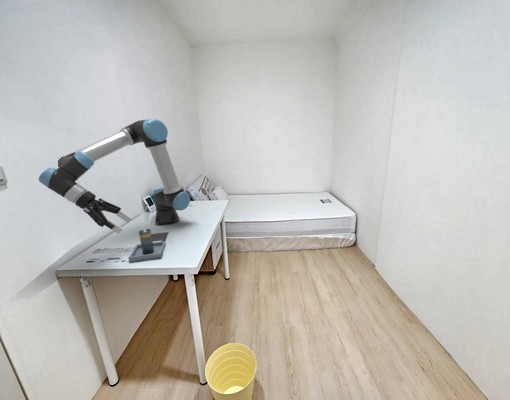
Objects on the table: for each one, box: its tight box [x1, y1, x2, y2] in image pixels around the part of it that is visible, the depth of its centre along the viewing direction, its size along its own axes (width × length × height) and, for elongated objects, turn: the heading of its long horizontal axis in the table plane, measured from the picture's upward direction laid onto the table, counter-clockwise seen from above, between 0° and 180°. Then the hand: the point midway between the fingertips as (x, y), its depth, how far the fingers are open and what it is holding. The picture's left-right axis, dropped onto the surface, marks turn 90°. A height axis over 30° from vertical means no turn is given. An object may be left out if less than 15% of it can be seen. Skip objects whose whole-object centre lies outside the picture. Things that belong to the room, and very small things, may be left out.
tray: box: [128, 241, 167, 263], centre depth 112 cm, size 14×14×2 cm
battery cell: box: [138, 228, 154, 255], centre depth 110 cm, size 5×5×12 cm
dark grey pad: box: [151, 231, 170, 243], centre depth 128 cm, size 14×12×1 cm
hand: (126, 225), depth 106 cm, fingers open, 13 cm apart
